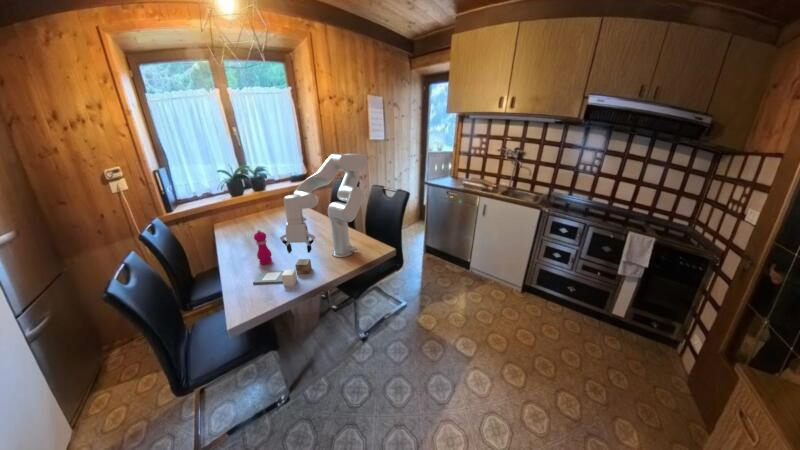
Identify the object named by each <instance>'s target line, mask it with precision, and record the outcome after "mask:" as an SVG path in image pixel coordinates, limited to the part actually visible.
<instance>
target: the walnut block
mask: <svg viewBox="0 0 800 450" xmlns="http://www.w3.org/2000/svg"><path fill="white" fill-rule="evenodd" d="M311 261H312V260H311V259H310V258H299V259H298V260H297V262H295V265H294V266H295V270H296V276H300V275H301V276H303V275H305V276H306V275H310V272H311V270H312V263H311Z"/></svg>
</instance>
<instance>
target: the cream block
mask: <svg viewBox="0 0 800 450" xmlns="http://www.w3.org/2000/svg"><path fill="white" fill-rule="evenodd" d="M283 271H284V272H283V274H282V275H281V276H282V281H283V283H282V284H283V287H289V286H290V287H291V286H293V287H294V286H295V285H296V282H297V281H298V278H297V277H298V275H297V272H296V268H295V269H294V268H293V269H284V270H283Z"/></svg>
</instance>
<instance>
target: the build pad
mask: <svg viewBox="0 0 800 450" xmlns="http://www.w3.org/2000/svg"><path fill="white" fill-rule="evenodd" d="M284 271H285V270H269V271H261V272H260V273H259V275H257V277H256V278H255V279H254V281H253V282H252V284H253V285H263V284H265V285H266V284H267V285H268V284H269V285H270V284H283V281H282V276H281V275H282V274H283V272H284Z"/></svg>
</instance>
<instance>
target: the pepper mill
mask: <svg viewBox="0 0 800 450" xmlns="http://www.w3.org/2000/svg"><path fill="white" fill-rule="evenodd" d="M253 239H254V241H255V242H256V245H257V246H258V250H257V254H256V256H257V257H256V258H257V259H258V260H259V265H264V266H265V265H269V264H271V263H272V262H273V259H272V252H271V250H270V249H269V248H268V247H267V246H268V245H267V234H266V233H265V232H264V231H261V229H257V230H256V232H255V234H254V235H253Z"/></svg>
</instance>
